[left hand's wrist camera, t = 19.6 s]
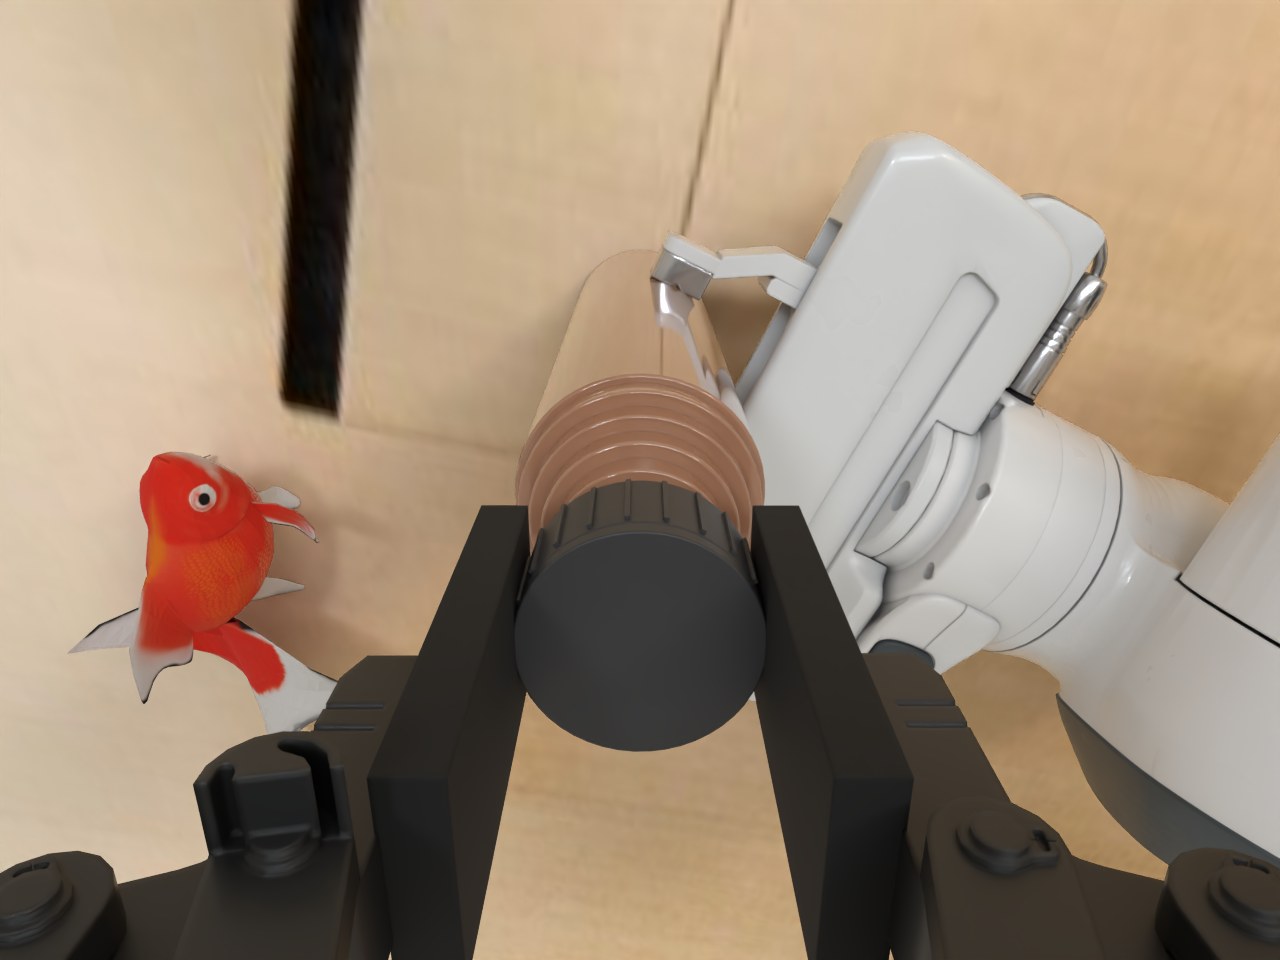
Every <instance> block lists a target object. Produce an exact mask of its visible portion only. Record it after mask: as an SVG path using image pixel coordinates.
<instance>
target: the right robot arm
mask: <svg viewBox="0 0 1280 960" xmlns="http://www.w3.org/2000/svg"><path fill="white" fill-rule="evenodd" d="M1107 257H1108V247H1107V241H1106V237H1105V233H1104V231H1103V230H1102V228H1101V227H1100V225H1099V224H1098V223H1097V222H1096V221H1095V220H1094V219H1093V218H1092V217H1091V216H1090V215H1088V214H1086V213H1084V212H1083V211H1081V210H1079V209H1077V208H1075V207H1074V206H1072V205H1070V204H1068V203H1066V202H1065V201H1063V200H1061V199H1059V198H1058V197H1055V196H1052V195H1049V194H1043V193H1031V194H1026V195H1021V196H1019V195H1018V194H1017V193H1016V192H1015V191H1013V190H1012V189H1011V188H1010V187H1008V186H1007V185H1006V184H1005V183H1003V182H1002V181H1001V180H999V179H998V178H997V177H995V176H994V175H993V174H991V173H990V172H989V171H987V170H986V169H985V168H983V167H982V166H980V165H979V164H977V163H976V162H975V161H973V160H972V159H970V158H969V157H967V156H966V155H964V154H963V153H961V152H959V151H958V150H956V149H955V148H953V147H952V146H950V145H948V144H947V143H945V142H943V141H941V140H940V139H938V138H936V137H934V136H932V135H929V134H926V133H922V132H917V131H904V132H900V133H895V134H892V135H889V136H885V137H882V138H879V139H876V140H874V141H872V142H870V143H869V144H868V145H867V146H866V147H865V149H864V150H863V152H862V154H861V155H860V157H859V159H858V161H857V163H856V165H855V166H854V168H853V170H852V172H851V174H850V176H849V177H848V179H847V181H846V183H845V185H844V187H843V188H842V190H841V192H840V194H839V196H838V198H837V200H836V201H835V203H834V205H833V207H832V209H831V211H830V212H829V214H828V216H827V218H826V220H825V222H824V223H823V225H822V227H821V229H820V231H819V233H818V234H817V236H816V238H815V240H814V242H813V244H812V245H811V247H810V249H809V251H808V253H807V255H806V257H805V258H804V260H803V259H801V258H799V257H797V256H795V255H793V254H791V253H789V252H787V251H785V250H784V249H782V248H780V247H778V246H776V245H772V246H759V247H747V248H734V249H721V250H718V251H717V253H715V252H713V251H711V250H709V249H707V248H705V247H703V246H702V245H700V244H698V243H696V242H694V241H692V240H690V239H688V238H686V237H684V236H682V235H680V234H677V233H675V232H672V231H670V230H669V232H668V234H667V236H666V238H665V240H664V242H663V244H662V246H661V248H660V251H659V253H658V255H657V257H656V259H655V261H654V264H653V266H652V268H651V270H650V272H651V273H650V275H651V276H652V277H654V278H655V279H657V280H659V281H660V282H662V283H665V284H668V285H676V284H677V285H678V287H679V289H680V290H681V291H682V292H684V293H685V294H687V295H689V296H691V297H693V298H695V299H697V300H700V298H701V296H702V295H703V293H704V291H705V289H706V287H707V285H708V283H709V282H710V280H711V278H712V279H724V278H741V277H758V276H760V277H759V279H758V281H759V284H760V285H761V287H762V288H763V289H764V290H765V292H766V293H767V294H768V295H770V296H772V297H774V298H775V299H777V300H779V301H781V302H780V304H779V306H778V308H777V310H776V312H775V314H774V315H773V317H772V319H771V321H770V323H769V325H768V326H767V328H766V330H765V332H764V334H763V336H762V337H761V339H760V341H759V343H758V345H757V347H756V348H755V350H754V352H753V354H752V356H751V358H750V359H749V361H748V363H747V365H746V367H745V369H744V371H743V372H742V374H741V376H740V378H739V380H738V382H737V383H736V385H735V389H736V392H737V394H738V397H739V400H740V402H741V405H742V408H743V411H744V413H745V416H746V419H747V421H748V424H749V427H750V430H751V432H752V435H753V438H754V440H755V443H756V446H757V448H758V451H759V455H760V458H761V461H762V465H763V470H764V477H765V501H764V505H799V507H800V509H801V511H802V514H803V516H804V519H805V521H806V523H807V526H808V528H809V530H810V533H811V535H812V537H813V540H814V542H815V545H816V547H817V549H818V552H819V554H820V556H821V559H822V561H823V563H824V566H825V568H826V571H827V573H828V575H829V578H830V580H831V582H832V585H833V587H834V589H835V592H836V594H837V597H838V599H839V601H840V604H841V606H842V608H843V611H844V613H845V616H846V618H847V620H848V623H849V625H850V627H851V630H852V632H853V634H854V637H855V639H856V642H857V644H858V646H859V649H860V651H861V653H914V654H915V655H916V656H918V657H919V658H920V659H921V660H923V661H924V662H925V663H926V664H928V665H929V666H930V667H931V668H933V669H934V670H935V671H936V672H938V673H939V674H940V675H941V674H942V673H944V672H945V671H947V670H948V669H950V668H952V667H953V666H955V665H956V664H958V663H959V662H961V661H963V660H964V659H966V658H968V657H970V656H971V655H973V654H975V653H976V652H978V651H980V650H981V649H982V650H985V651H989V652H994V653H1000V654H1006V655H1011V656H1016V657H1020V658H1023V659H1026V660H1029V661H1031V662H1033V663H1035V664H1037V665H1039V666H1041V667H1042V668H1044V669H1045V670H1047V671H1048V672H1049V673H1050V674H1051V675H1052V676H1054V677H1055V678H1056V679H1057V680H1058V681H1059V684H1060V692H1059V693H1057V694H1056V698H1057V704H1058V708H1059V712H1060V715H1061V718H1062V721H1063V724H1064V727H1065V729H1066V732H1067V734H1068V736H1069V739H1070V741H1071V744H1072V746H1073V749H1074V751H1075V754H1076V756H1077V758H1078V761H1079V763H1080V766H1081V768H1082V771H1083V773H1084V775H1085V777H1086V779H1087V782H1088V783H1089V785H1090V787H1091V789H1092V790H1093V792H1094V793H1095V795H1096V796H1097V798H1098V799H1099V801H1100V802H1101V803H1102V805H1103V806H1104V807H1105V809H1106V810H1107V811H1108V812H1109V813H1110V814H1111V815H1112V817H1113V818H1114V819H1115V820H1116V821H1117V822H1118V823H1119V824H1120V825H1121V826H1122V827H1123V828H1124V829H1125V830H1126V831H1127V832H1128V833H1129V834H1130V835H1131V836H1132V837H1134V838H1135V839H1136V840H1137V841H1138V842H1139V843H1140V844H1141V845H1143V846H1144V847H1145V848H1146V849H1147V850H1149V851H1150V852H1151V853H1153V854H1154V855H1155V856H1157V857H1158V858H1159V859H1161V860H1162V861H1164V862H1165V863H1167V864H1168V865H1169V864H1170V863H1171V862H1172V861H1173V860H1174V859H1175V858H1176V857H1177V856H1178V855H1179V854H1180V853H1181V852H1185V851H1190V850H1194V849H1199V848H1203V847H1206V848H1216V849H1226V850H1234V851H1237V852H1240V853H1243V854H1246V855H1249V856H1252V857H1255V858H1258V859H1262V860H1265V861H1267V862H1269V863H1270V864H1272V865H1274V866H1276V867H1278V868H1280V433H1279V434H1278V436H1277V437H1276V439H1275V440H1274V442H1273V443H1272V445H1271V446H1270V448H1269V449H1268V450H1267V452H1266V453H1265V455H1264V456H1263V458H1262V459H1261V461H1260V462H1259V464H1258V465H1257V466H1256V468H1255V469H1254V471H1253V472H1252V474H1251V475H1250V477H1249V478H1248V480H1247V481H1246V482H1245V484H1244V485H1243V487H1242V488H1241V490H1240V491H1239V493H1238V494H1237V496H1236V497H1235V498H1234V500H1233V501H1232V503H1231V504H1228V503H1226V502H1225V501H1223V500H1221V499H1219V498H1217V497H1215V496H1214V495H1212V494H1210V493H1208V492H1206V491H1204V490H1202V489H1200V488H1198V487H1196V486H1194V485H1192V484H1189V483H1187V482H1184V481H1181V480H1177V479H1173V478H1169V477H1162V476H1155V475H1150V474H1147V473H1144V472H1142V471H1140V470H1138V469H1137V468H1135V467H1134V466H1133V465H1132V464H1131V463H1130V462H1129V461H1128V460H1127V459H1126V458H1125V457H1124V456H1123V455H1122V454H1121V453H1120V452H1119V451H1118V450H1117V449H1116V448H1115V447H1114V446H1112V445H1111V444H1109V443H1108V442H1106V441H1105V440H1103V439H1101V438H1100V437H1098V436H1096V435H1094V434H1092V433H1090V432H1088V431H1086V430H1084V429H1082V428H1080V427H1078V426H1076V425H1074V424H1072V423H1070V422H1068V421H1066V420H1064V419H1062V418H1060V417H1058V416H1056V415H1054V414H1053V413H1051V412H1049V411H1047V410H1045V409H1043V408H1041V407H1039V406H1037V405H1035V403H1034V402H1033V401H1034V400H1035V398H1036V396H1037V395H1038V394H1039V392H1040V391H1041V389H1042V388H1043V386H1044V385H1045V383H1046V382H1047V380H1048V379H1049V377H1050V376H1051V374H1052V373H1053V371H1054V370H1055V368H1056V367H1057V365H1058V363H1059V362H1060V360H1061V358H1062V357H1063V355H1062V354H1063V353H1065V351H1066V349H1067V347H1066V346H1068V345H1069V343H1070V341H1071V340H1070V339H1071V338H1073V336H1074V334H1075V331H1077V330H1078V328H1079V327H1080V326H1081V324H1082V323H1083V321H1084V320H1087V319H1088V318H1089V317H1090V316H1091V314H1092V313H1093V312H1094V310H1095V309H1096V308H1097V306H1098V304H1099V303H1100V301H1101V299H1102V297H1103V295H1104V293H1105V290H1106V287H1107V283H1106V282H1105V281H1103V280H1102V279H1101V278H1102V276H1103V273H1104V271H1105V267H1106V264H1107ZM1093 259H1094V260H1093ZM1092 260H1093V265H1092V267H1091V270H1090V273H1087V272H1085V271H1086V269H1087V268H1088V266H1089V265H1090V263H1091V262H1092ZM748 700H751V701H756V699H755V694H754V692H753V694H752V695H751V697H750V698H749V699H748Z"/></svg>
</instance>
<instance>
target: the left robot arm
mask: <svg viewBox="0 0 1280 960" xmlns="http://www.w3.org/2000/svg"><path fill="white" fill-rule="evenodd" d="M750 553H751V556H752V560H753V564H754V568H755V572H756V576H757V579H758V583H757V588H758V592H759V596H760V599H761V603H762V607H763V611H764V615H765V619H766V646H765V661H764V670H763V673H762V675H761V678H760V681H759V682H758V684H757V686H756V688H755V690H754V694H755V699H756V704H757V709H758V714H759V719H760V724H761V729H762V734H763V738H764V743H765V748H766V753H767V758H768V763H769V768H770V773H771V778H772V783H773V788H774V793H775V798H776V803H777V808H778V813H779V818H780V823H781V828H782V833H783V837H784V842H785V847H786V852H787V857H788V862H789V867H790V872H791V877H792V882H793V887H794V892H795V897H796V902H797V907H798V912H799V917H800V922H801V927H802V931H803V936H804V941H805V946H806V951H807V956H808V960H889V954H890V949H891V952H892V955H893V958H894V960H1280V868H1278V867H1276V866H1274V865H1272V864H1270V863H1269V862H1267V861H1265V860H1262V859H1258V858H1255V857H1252V856H1249V855H1246V854H1243V853H1240V852H1237V851H1234V850H1226V849H1216V848H1206V847H1203V848H1199V849H1194V850H1190V851H1185V852H1181V853H1180V854H1179V855H1178V856H1177V857H1176V858H1175V859H1174V860H1173V861H1172V862H1171V863H1170V864H1169V866H1168V870H1167V873H1166V877H1165V880H1164V881H1162V880H1158V879H1153V878H1149V877H1145V876H1141V875H1137V874H1133V873H1128V872H1124V871H1120V870H1116V869H1112V868H1108V867H1104V866H1100V865H1097V864H1094V863H1091V862H1088V861H1085V860H1081V859H1079V858H1077V857H1075V856H1073V855H1071V853H1070V851H1069V849H1068V848H1067V846H1066V845H1065V843H1064V841H1063V840H1062V838H1061V836H1060V835H1059V833H1058V832H1056V831H1055V830H1054V829H1053V828H1052V827H1050V826H1049V825H1048V824H1047V823H1046V822H1045V821H1043V820H1042V819H1041V818H1040V817H1039V816H1037V815H1035V814H1033V813H1031V812H1029V811H1027V810H1025V809H1023V808H1021V807H1019V806H1017V805H1015V804H1013V803H1011V801H1010V799H1009V797H1008V796H1007V794H1006V792H1005V790H1004V788H1003V787H1002V785H1001V783H1000V781H999V779H998V778H997V776H996V774H995V772H994V770H993V768H992V767H991V765H990V763H989V761H988V759H987V758H986V756H985V754H984V752H983V750H982V749H981V747H980V745H979V743H978V741H977V740H976V738H975V736H974V734H973V732H972V730H971V729H970V728H967V721H966V720H965V718H964V716H963V714H962V712H961V711H960V709H959V707H958V706H956V705H955V700H954V698H953V696H952V694H951V692H950V691H949V689H948V687H947V685H946V683H945V682H944V680H943V678H942V676H941V675H940V674H939V673H938V672H936V671H935V670H934V669H933V668H931V667H930V666H929V665H928V664H926V663H925V662H924V661H923V660H921V659H920V658H919V657H918V656H916V655H915V654H914V653H861V651H860V649H859V646H858V644H857V642H856V639H855V637H854V634H853V632H852V630H851V627H850V625H849V623H848V620H847V618H846V616H845V613H844V611H843V608H842V606H841V604H840V601H839V599H838V597H837V594H836V592H835V589H834V587H833V585H832V582H831V580H830V578H829V575H828V573H827V571H826V568H825V566H824V563H823V561H822V559H821V556H820V554H819V552H818V549H817V547H816V545H815V542H814V540H813V537H812V535H811V533H810V530H809V528H808V526H807V523H806V521H805V519H804V516H803V514H802V511H801V509H800V507H799V505H753V509H752V528H751V548H750ZM528 557H530V537H529V517H528V505H482V506H481V508H480V510H479V513H478V515H477V518H476V520H475V522H474V525H473V527H472V529H471V532H470V534H469V536H468V539H467V541H466V544H465V546H464V548H463V551H462V553H461V555H460V558H459V560H458V563H457V565H456V567H455V570H454V572H453V574H452V577H451V579H450V581H449V584H448V586H447V589H446V591H445V593H444V596H443V598H442V600H441V603H440V605H439V607H438V610H437V612H436V615H435V617H434V619H433V622H432V624H431V626H430V629H429V631H428V634H427V636H426V638H425V641H424V643H423V645H422V648H421V650H420V652H419V655H418V656H367V657H365V658H364V659H363V660H362V661H360V662H359V663H358V664H357V665H355V666H354V667H353V668H352V669H350V670H349V671H348V672H347V673H345V674H344V675H343V676H342V677H341V678H340V679H339V681H338V682H337V684H336V686H335V688H334V690H333V692H332V693H331V695H330V697H329V699H328V701H327V703H326V708H325V709H323V710H322V712H321V713H320V715H319V717H318V719H317V721H316V723H315V724H314V731H311V732H308V731H281V732H277V733H272V734H268V735H263V736H259V737H254V738H252V739H250V740H248V741H245V742H243V743H241V744H239V745H236V746H234V747H232V748H230V749H228V750H226V751H225V752H224V753H222V754H221V755H220V756H218V757H217V758H216V759H214V760H213V761H212V762H210V763H209V764H208V765H206V767H205V768H204V769H203V771H202V772H201V774H200V775H199V777H198V778H197V780H196V781H195V782H194V784H193V787H194V791H195V795H196V800H197V804H198V808H199V813H200V817H201V821H202V826H203V830H204V835H205V839H206V843H207V848H208V852H209V856H208V859H207V860H205V861H203V862H201V863H198V864H195V865H192V866H188V867H185V868H182V869H179V870H175V871H171V872H167V873H163V874H159V875H154V876H150V877H146V878H142V879H138V880H134V881H129V882H125V883H121V884H117V881H116V878H115V874H114V871H113V868H112V867H111V866H110V865H109V864H108V863H107V862H106V861H105V860H104V859H103V858H102V857H101V856H98V855H94V854H90V853H85V852H81V851H71V852H61V853H51V854H46V855H43V856H40V857H37V858H34V859H31V860H28V861H25V862H22V863H19V864H16V865H14V866H12V867H11V868H9V869H7V870H5V871H3V872H2V873H0V960H388V958H389V955H390V951H391V957H392V960H472V959H473V954H474V949H475V944H476V939H477V934H478V929H479V924H480V919H481V914H482V910H483V905H484V900H485V895H486V890H487V885H488V880H489V875H490V870H491V865H492V860H493V855H494V850H495V845H496V840H497V835H498V830H499V825H500V820H501V815H502V811H503V806H504V801H505V796H506V791H507V786H508V781H509V776H510V771H511V766H512V761H513V756H514V751H515V746H516V741H517V736H518V731H519V726H520V721H521V716H522V712H523V707H524V702H525V697H526V692H527V691H526V689H525V687H524V685H523V684H522V682H521V679H520V676H519V674H518V671H517V667H516V653H515V635H514V622H515V617H516V613H517V609H518V605H517V598H518V594H519V590H520V586H521V583H522V579H523V575H524V571H525V567H526V563H527V560H528Z"/></svg>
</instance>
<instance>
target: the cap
mask: <svg viewBox="0 0 1280 960" xmlns="http://www.w3.org/2000/svg"><path fill="white" fill-rule="evenodd" d="M757 583H758V579H757V576H756V572H755V568H754V564H753V560H752V556H751V553H750V549H749V545H748V541H747V539H746V537H744V538H742V537H741V535H740V533H739V532H738V530H737V529H736V527H735V526H734V524H733V523H732V522H731V521H730V519H729V515H728V513H727V512H726V511H724V512H722V511H721V510H719V509H718V508H717V507H716V506H715V505H713V504H712V503H711V502H709V501H708V500H706V499H705V498H703V497H701V493H699V492H697V491H696V493H694V492H692V491H690V490H687V489H684V488H682V487H679V486H676V485H672V484H667V481H663V480H662V482H656V481H647V480H645V481H631V479H626V481H625V482H617V483H613V484H609V485H605V486H601V487H599V488H596V487H593V488H591V491H589V492H586V493H585V494H583V495H581V496H579V497H578V498H576V499H574V500H573V501H571V502H570V503H569V504H567V505H566V504H565V503H564V504H563V505H562V506H561V508H560V511H559V512H558V513H557V514H556V515H555V516H554V517H553V518H552V519H551V520H550V521H549V523H548V524H547V525H546V527H545V528H544V529H543V528H540V530H539V532H538V536H537V540H536V543H535V547H534V549H533V552H532V554H531V557H528V560H527V563H526V567H525V571H524V575H523V579H522V583H521V586H520V590H519V594H518V598H517V605H518V609H517V613H516V617H515V622H514V635H515V653H516V667H517V671H518V674H519V676H520V679H521V682H522V684H523V685H524V687H525V689H526V691H527V692H528V694H529V696H530V697H531V699H532V700H533V701H534V703H535V704H536V705H537V707H538V708H539V709H540V710H541V711H542V712H543V713H544V714H545V715H546V716H547V717H548V718H549V719H550V720H552V721H553V722H554V723H556V724H557V725H558V726H559V727H561V728H562V729H564V730H566V731H567V732H569V733H571V734H572V735H574V736H576V737H578V738H580V739H583V740H585V741H587V742H590V743H593V744H596V745H599V746H602V747H606V748H611V749H616V750H624V751H656V750H665V749H669V748H674V747H678V746H682V745H685V744H688V743H690V742H693V741H696V740H698V739H700V738H702V737H704V736H706V735H708V734H710V733H712V732H713V731H715V730H717V729H718V728H720V727H721V726H723V725H724V724H725V723H726V722H728V721H729V720H730V719H731V718H732V717H734V716H735V715H736V713H737V712H738V711H739V710H740V709H741V708H742V707H743V706H744V705H745V703H746V702H747V701H748V699H749V698H750V697H751V695H752V694H753V692H754V690H755V688H756V686H757V684H758V682H759V681H760V678H761V675H762V673H763V670H764V661H765V646H766V619H765V615H764V611H763V607H762V603H761V599H760V596H759V592H758V588H757Z"/></svg>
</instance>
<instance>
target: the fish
mask: <svg viewBox="0 0 1280 960" xmlns="http://www.w3.org/2000/svg"><path fill="white" fill-rule="evenodd" d="M209 456H210V455H209ZM206 457H208V456H206ZM140 503H141V508H142V512H143V515H144V518H145V521H146V523H147V526H148V543H147V557H146V569H147V577H146V579H145V583H144V586H143V589H142V594H141V599H140V604H139V608H137V609H134V610H132V611H130V612H127V613H125V614H123V615H120V616H118V617H116V618H113V619H111V620H109V621H107V622H104V623H102V624H100V625H98V626H97V627H96V628H95V629H94V630H93V631H91V632H90V633H89V634H88V635H87V636H86V637H85V638H84V639H83V640H82V641H81V642H79V643H78V644H77V645H76V646H75V647H74V648H73V649H72V650H71V651H70V652H68V653H74V652H80V651H85V650H94V649H104V648H116V647H130V650H129V651H130V658H131V664H132V670H133V675H134V678H135V681H136V685H137V688H138V691H139V694H140V697H141V700H142V702H143V704H145V703H146V702H147V700H148V697H149V694H150V691H151V688H152V685H153V682H154V680H155V678H156V677H157V675H158V673H160V672H161V671H162V670H163V669H164V668H167V667H171V666H180V665H185V664H187V663H189V662H191V661H192V657H193V649H195V650H199V651H204V652H208V653H212V654H215V655H217V656H220V657H222V658H224V659H226V660H228V661H229V662H231V663H232V664H234V665H235V666H237V667H238V668H239V669H240V670H241V671H242V672H244V674H245V675H246V676H247V678H248V680H249V683H250V685H251V687H252V690H253V692H254V694H255V697H256V699H257V702H258V704H259V707H260V710H261V712H262V715H263V718H264V721H265V726H266V730H267V733H268V734H272V733H277V732H281V731H300V730H301V729H303V728H304V727H305V726H307V725H308V724H310V723H311V722H313V721H315V720H317V719H318V717H319V715H320V713H321V712H322V710H323V709H325V708H326V703H327V701H328V699H329V697H330V695H331V693H332V692H333V690H334V688H335V686H336V684H337V682H338V681H337V680H334V679H332V678H330V677H328V676H325V675H323V674H321V673H318V672H316V671H314V670H312V669H310V668H308V667H307V666H305V665H304V664H302V663H301V662H300V661H298V660H297V659H295V658H294V657H292V656H291V655H289V654H288V653H286V652H285V651H284V650H282V649H281V648H279V647H278V646H276V645H275V644H273V643H272V642H270V641H269V640H267V639H266V638H264V637H263V636H262V635H260V634H259V633H257V632H256V631H254V630H253V629H251V628H250V627H249V626H247V625H246V624H244V623H243V622H241V621H240V620H238V619H236V618H234V616H235V615H237V614H238V613H239V612H240V611H241V610H242V609H243V608H244V607H245V606H246V605H247V604H248V603H249V602H250V601H255V600H260V599H263V598H267V597H271V596H275V595H279V594H283V593H288V592H293V591H299V590H303V589H304V587H305V586H304V585H301V584H297V583H294V582H290V581H287V580H283V579H279V578H270V577H266V575H267V572H268V570H269V567H270V564H271V561H272V557H273V552H274V548H273V527H272V523H274V524H280V525H287V526H292V527H295V528H297V529H299V530H300V531H302V532H303V533H305V534H306V535H307V536H309V537H310V538H311V539H313V540H314V541H315V542H316V543H318V542H319V541H318V538H317V537H316V535H315V531H314V528H313V527H312V526H311V525H310V524H309V523H308V522H307V520H306V519H305V518H304V517H303V516H302V515H301V514H299V513H298V512H296V511H295V510H293V508H297V507H298V506H299V504H300V500H299V499H298V498H297V497H296V496H295V495H293V494H291V493H290V492H288V491H286V490H285V489H283V488H281V487H278V486H273V487H270V488H268V489H266V490H264V491H261V492H256V490H255V489H254V488H253V487H252V486H251V485H250V484H248V483H247V482H246V481H245V480H244V479H243V478H241V477H240V476H239V475H237V474H236V473H234V472H233V471H231V470H229V469H227V468H225V467H223V466H221V465H219V464H217V463H215V462H213V461H211V460H209V459H206V458H205V457H201V456H198V455H194V454H190V453H182V452H168V453H163V454H160V455H157V456H155V457H153V459H152V461H151V463H150V466H149V468H148V470H147V471H146V472H145V474H144V475H143V476H142V479H141V481H140ZM68 653H67V654H68Z"/></svg>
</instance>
